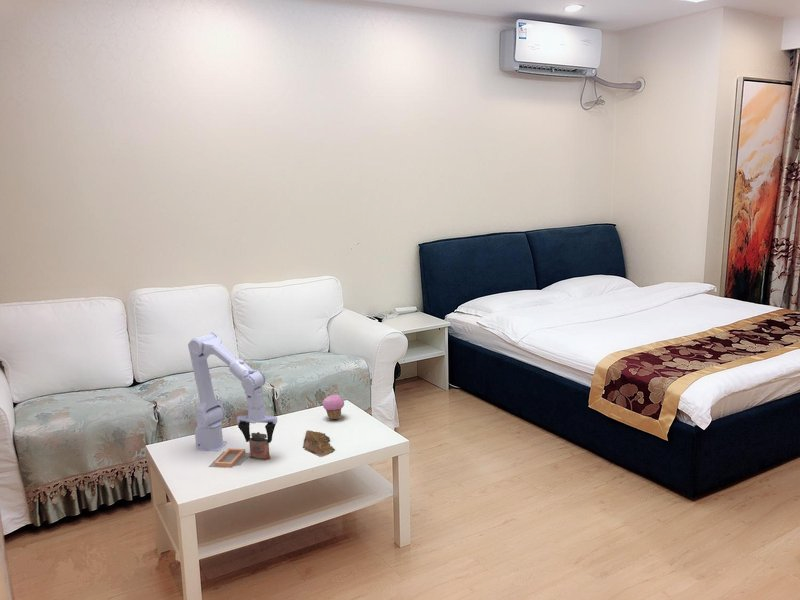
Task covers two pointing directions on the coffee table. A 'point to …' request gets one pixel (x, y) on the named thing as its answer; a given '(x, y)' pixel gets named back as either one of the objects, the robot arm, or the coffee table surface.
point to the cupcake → (333, 406)
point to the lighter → (259, 446)
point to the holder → (230, 458)
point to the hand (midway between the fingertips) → (259, 441)
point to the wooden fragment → (317, 443)
